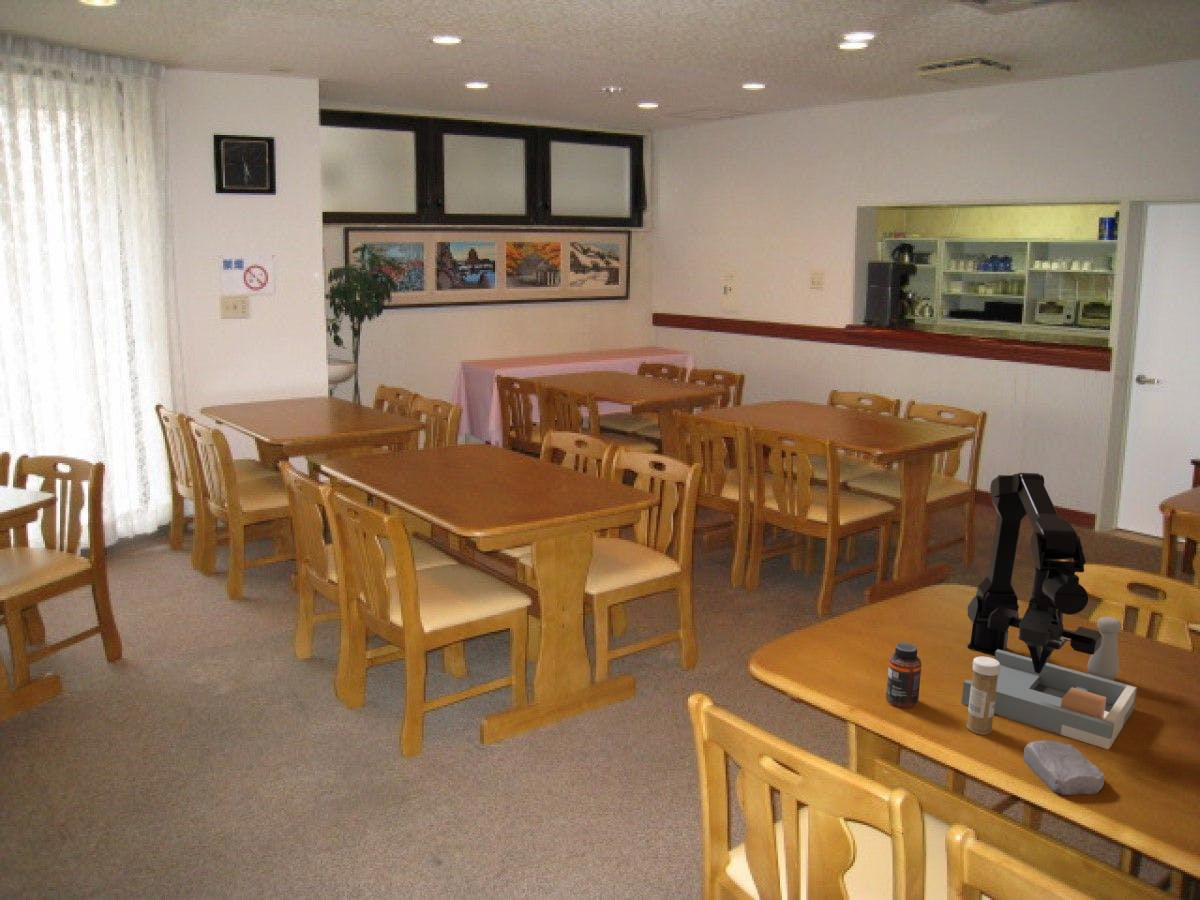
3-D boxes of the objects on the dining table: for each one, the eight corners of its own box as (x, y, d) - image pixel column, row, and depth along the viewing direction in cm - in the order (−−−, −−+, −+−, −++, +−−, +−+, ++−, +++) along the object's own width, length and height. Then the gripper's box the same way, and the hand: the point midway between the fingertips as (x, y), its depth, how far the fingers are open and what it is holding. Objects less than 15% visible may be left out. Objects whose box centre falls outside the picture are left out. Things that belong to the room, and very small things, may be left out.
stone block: (1067, 766, 176) (1015, 758, 175) (1076, 742, 175) (1024, 733, 173) (1107, 807, 165) (1052, 799, 163) (1118, 782, 164) (1062, 773, 162)
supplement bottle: (918, 697, 196) (924, 643, 193) (917, 711, 190) (923, 655, 188) (886, 692, 198) (891, 638, 195) (884, 705, 192) (889, 650, 190)
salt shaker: (1120, 687, 203) (1129, 626, 200) (1089, 683, 204) (1098, 623, 201) (1112, 674, 208) (1121, 615, 205) (1082, 671, 209) (1091, 612, 207)
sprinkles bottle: (997, 734, 183) (1006, 665, 180) (974, 736, 182) (983, 667, 179) (982, 722, 187) (990, 654, 184) (960, 724, 186) (968, 656, 183)
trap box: (961, 703, 194) (964, 679, 193) (995, 669, 209) (998, 646, 208) (1108, 749, 178) (1112, 723, 177) (1133, 709, 194) (1137, 684, 193)
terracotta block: (1059, 718, 185) (1061, 697, 184) (1069, 706, 189) (1071, 687, 189) (1094, 729, 181) (1097, 708, 180) (1103, 717, 186) (1106, 697, 185)
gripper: (982, 593, 185) (973, 672, 189) (1092, 619, 174) (1080, 703, 177) (1001, 577, 194) (992, 653, 197) (1107, 601, 182) (1096, 682, 186)
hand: (1038, 672), depth 189 cm, fingers closed
